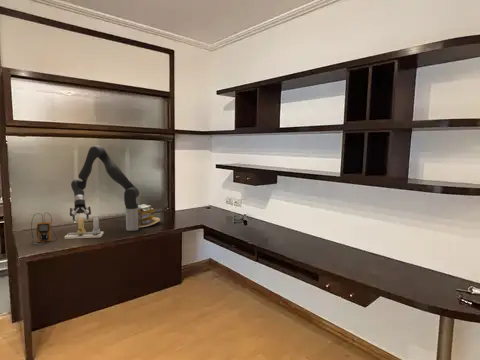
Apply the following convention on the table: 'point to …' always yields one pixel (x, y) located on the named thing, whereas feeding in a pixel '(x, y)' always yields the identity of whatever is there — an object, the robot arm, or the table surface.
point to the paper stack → (146, 215)
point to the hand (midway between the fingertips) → (80, 219)
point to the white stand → (92, 234)
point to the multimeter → (43, 231)
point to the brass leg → (81, 226)
